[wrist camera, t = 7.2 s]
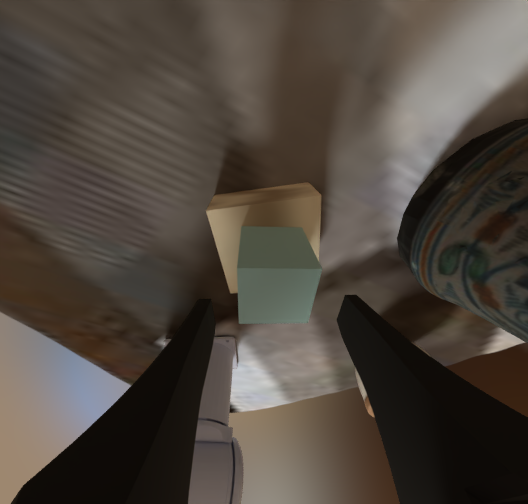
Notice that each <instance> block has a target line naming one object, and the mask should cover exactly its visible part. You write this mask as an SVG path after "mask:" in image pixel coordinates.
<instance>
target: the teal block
mask: <svg viewBox="0 0 528 504" xmlns="http://www.w3.org/2000/svg"><path fill="white" fill-rule="evenodd" d="M321 272H322V267H321V265H320V263H319V261H318V259H317V257H316V255H315V253H314V251H313V249H312V247H311V245H310V243H309V241H308V239H307V237H306V234H305V232H304V230H303V228H302V227H260V226H241V235H240V244H239V254H238V264H237V284H238V315H239V324H276V323H308V320H309V317H310V313H311V309H312V305H313V302H314V298H315V294H316V291H317V287H318V283H319V279H320V276H321Z"/></svg>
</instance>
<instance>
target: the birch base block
mask: <svg viewBox="0 0 528 504" xmlns="http://www.w3.org/2000/svg"><path fill="white" fill-rule="evenodd" d="M321 197H322V195H321V194H320V193H319V192H318V191H317V190H316V189H315V188H314V187H313V186H312V185H311V184H310V183H309V182H306V183H299V184H291V185H284V186H277V187H269V188H262V189H255V190H247V191H240V192H232V193H225V194H218V195H214V197H213V198H212V200H211V202H210V204H209V206H208V208H207V210H206V212H207V216H208V219H209V223H210V226H211V229H212V233H213V236H214V240H215V243H216V246H217V250H218V253H219V256H220V260H221V263H222V267H223V270H224V273H225V277H226V280H227V284H228V287H229V290H230V294H231V293H238V284H237V264H238V254H239V244H240V235H241V226H260V227H302V228H303V230H304V232H305V234H306V237H307V239H308V241H309V243H310V245H311V247H312V249H313V251H314V253H315V255H316V257H317V259H318V261H319V242H320V220H321Z"/></svg>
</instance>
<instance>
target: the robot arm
mask: <svg viewBox="0 0 528 504" xmlns="http://www.w3.org/2000/svg"><path fill="white" fill-rule="evenodd" d="M337 322H338V326H339V329H340V332H341V335H342V338H343V341H344V343H345V345H346V347H347V350H348V352H349V354H350V356H351V359H352V361H353V363H354V365H355V368H356V370H357V372H358V374H359V376H360V379H361V381H362V383H363V386H364V388H365V391H366V393H367V396H368V399H369V402H370V405H371V408H372V410H373V413H374V416H375V419H376V423H377V425H378V429H379V432H380V435H381V438H382V441H383V445H384V448H385V451H386V455H387V458H388V461H389V465H390V468H391V472H392V476H393V479H394V483H395V486H396V490H397V494H398V498H399V502H400V504H528V417H526V416H524V415H522V414H521V413H519V412H517V411H515V410H514V409H512V408H510V407H508V406H507V405H505V404H503V403H502V402H500V401H498V400H496V399H495V398H493V397H491V396H490V395H488V394H486V393H485V392H483V391H482V390H480V389H478V388H477V387H475V386H473V385H472V384H470V383H469V382H467V381H466V380H464V379H463V378H461V377H459V376H458V375H456V374H455V373H453V372H452V371H450V370H449V369H447V368H446V367H444V366H443V365H442V364H440V363H439V362H437V361H436V360H435V359H433V358H432V357H430V356H429V355H428V354H426V353H425V352H423V351H422V350H421V349H419V348H418V347H417V346H416V345H414V344H413V343H412V342H411V341H409V340H408V339H407V338H405V337H404V336H403V335H402V334H401V333H399V332H398V331H397V330H396V329H395V328H393V327H392V326H391V325H390V324H389V323H388V322H386V321H385V320H384V319H383V318H382V317H381V316H379V315H378V314H377V313H376V312H375V311H374V310H373V309H372V308H371V307H369V306H368V305H367V304H366V303H365V302H364V301H363V300H362V299H360V298H359V297H358V296H357V295H345V297H344V300H343V303H342V306H341V309H340V312H339V315H338V318H337ZM214 334H215V318H214V313H213V307H212V302H211V299H199V300H198V301H197V302H196V304H195V306H194V307H193V309H192V310H191V312H190V313H189V315H188V316H187V318H186V319H185V321H184V322H183V324H182V325H181V327H180V328H179V329H178V331H177V332H176V334H175V335H174V336H173V338H172V339H166V340H165V341H164V345H165V347H164V349H163V350H162V352H161V353H160V354H159V355H158V357H157V358H156V359H155V360H154V361H153V363H152V364H151V365H150V366H149V367H148V368H147V370H146V371H145V372H144V373H143V374H142V375H141V376H140V377H139V378H138V380H137V381H136V382H135V383H134V384H133V385H132V386H131V387H130V388H129V389H128V390H127V391H126V392H125V393H124V394H123V395H122V396H121V397H120V398H119V399H118V400H117V401H116V402H115V403H114V404H113V405H112V406H111V407H110V408H109V409H108V410H107V411H106V412H105V413H104V414H103V415H102V416H101V417H100V418H99V419H98V420H97V421H96V422H94V423H93V424H92V425H91V426H90V427H89V428H88V429H87V430H86V431H85V432H84V433H83V434H82V435H81V436H80V437H78V438H77V439H76V440H75V441H74V442H73V443H72V444H71V445H69V447H67V448H66V449H65V450H64V451H63V452H61V453H60V454H59V455H58V456H57V457H56V458H55V459H53V460H52V461H51V462H50V463H49V464H48V465H46V466H45V467H44V468H43V469H42V470H41V471H40V472H38V473H37V474H36V475H35V476H34V477H33V478H31V479H30V480H29V481H28V482H27V483H26V484H24V485H23V487H22V488H21V490H20V491H19V492H18V494H17V495H16V497H15V498H14V500H13V501H12V503H11V504H240V503H241V497H242V489H243V456H242V451H241V448H240V446H239V443H238V441H237V439H236V438H234V437H232V431H233V428H232V427H228V421H229V408H230V395H231V381H232V369H236V368H237V366H238V365H237V355H236V345H235V338H234V337H214Z"/></svg>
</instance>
